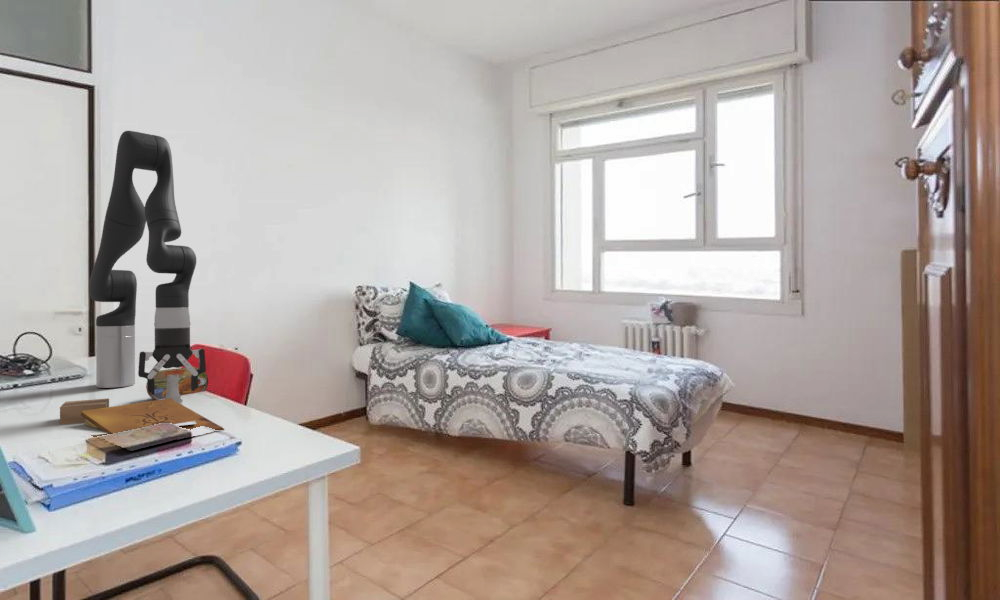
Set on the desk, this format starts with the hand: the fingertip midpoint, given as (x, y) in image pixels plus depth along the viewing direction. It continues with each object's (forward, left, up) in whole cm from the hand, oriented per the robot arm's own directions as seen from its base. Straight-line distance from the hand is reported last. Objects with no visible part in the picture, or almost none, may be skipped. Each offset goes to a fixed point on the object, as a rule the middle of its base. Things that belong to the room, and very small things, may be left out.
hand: (173, 392), depth 138 cm
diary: (+18, -5, -9) cm, 20 cm away
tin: (-14, +2, -4) cm, 15 cm away
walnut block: (+5, -17, -4) cm, 18 cm away
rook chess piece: (0, 0, -4) cm, 4 cm away
